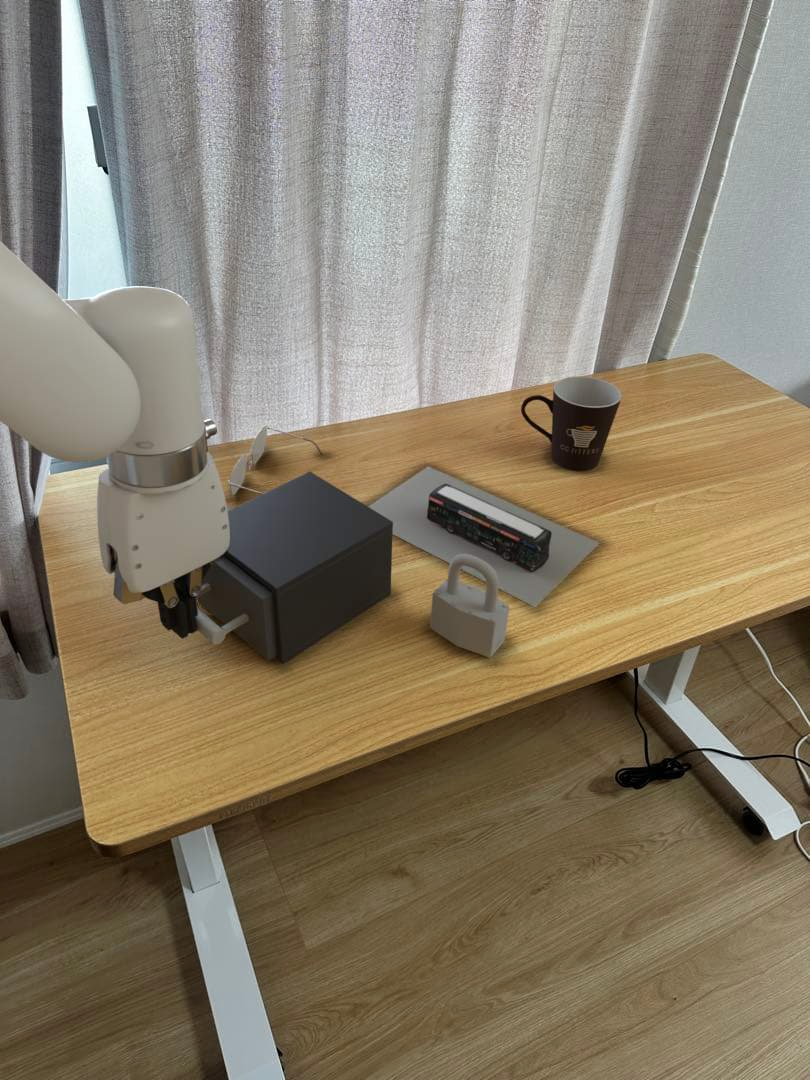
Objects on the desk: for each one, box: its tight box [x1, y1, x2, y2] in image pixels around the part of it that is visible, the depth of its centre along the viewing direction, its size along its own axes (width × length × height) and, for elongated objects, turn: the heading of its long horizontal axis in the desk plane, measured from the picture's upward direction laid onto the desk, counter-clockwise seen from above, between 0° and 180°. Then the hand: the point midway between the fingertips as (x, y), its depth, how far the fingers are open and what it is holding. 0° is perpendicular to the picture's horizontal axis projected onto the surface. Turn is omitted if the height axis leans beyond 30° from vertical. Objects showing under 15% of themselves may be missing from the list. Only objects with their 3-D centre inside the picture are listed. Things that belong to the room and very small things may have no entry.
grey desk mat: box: [367, 466, 600, 608], centre depth 94 cm, size 14×25×4 cm, turn 52°
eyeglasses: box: [227, 425, 324, 496], centre depth 101 cm, size 14×8×4 cm, turn 168°
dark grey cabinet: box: [226, 471, 393, 665], centre depth 82 cm, size 15×13×10 cm
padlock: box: [429, 554, 510, 658], centre depth 78 cm, size 7×4×10 cm, turn 56°
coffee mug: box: [520, 375, 623, 472], centre depth 106 cm, size 12×9×10 cm
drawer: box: [196, 556, 278, 662], centre depth 79 cm, size 18×11×8 cm, turn 136°
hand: (180, 627), depth 74 cm, fingers closed
